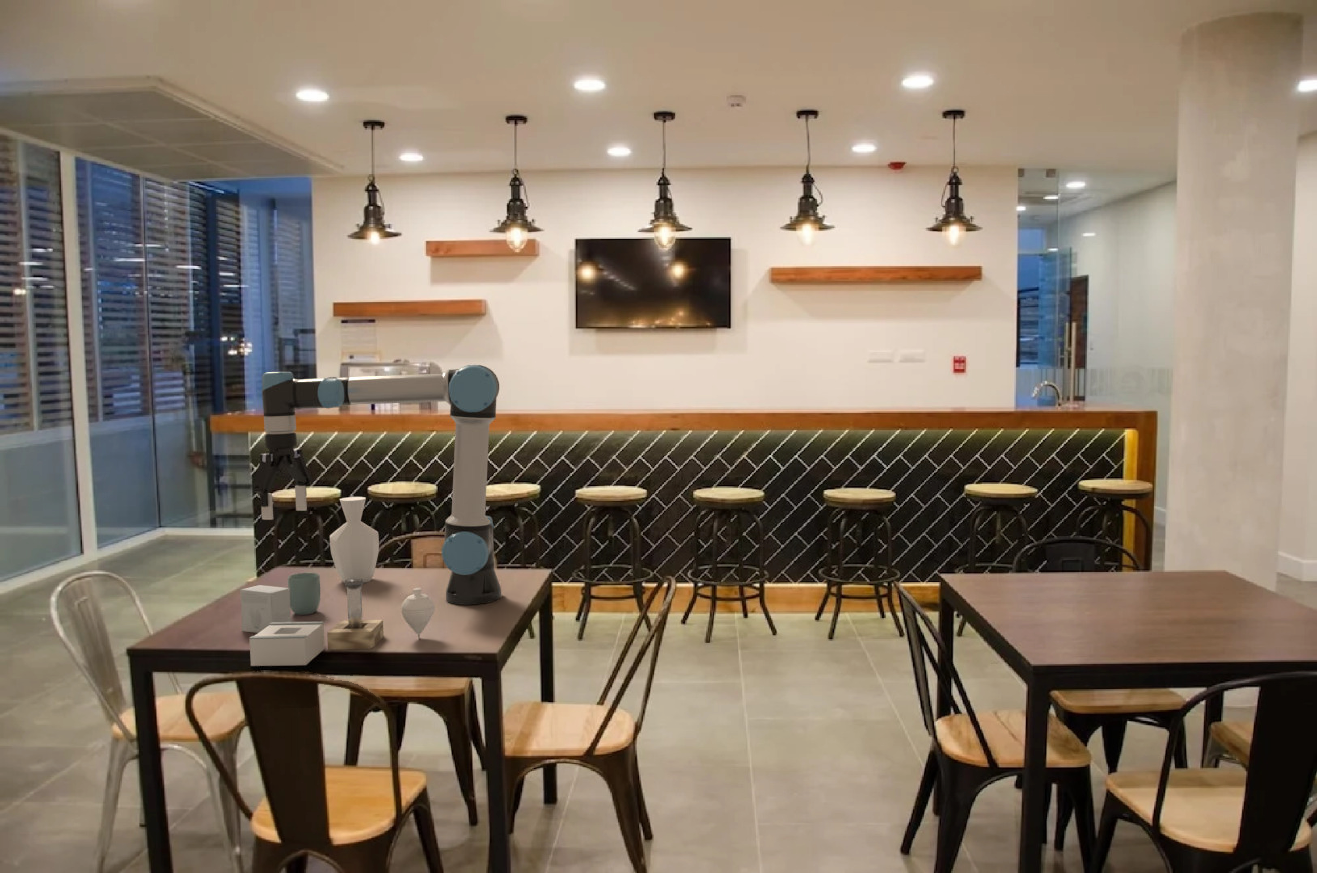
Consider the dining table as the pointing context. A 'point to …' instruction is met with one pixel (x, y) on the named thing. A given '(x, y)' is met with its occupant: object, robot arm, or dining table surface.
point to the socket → (287, 643)
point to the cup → (304, 592)
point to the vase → (354, 543)
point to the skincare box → (264, 607)
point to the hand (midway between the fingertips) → (285, 514)
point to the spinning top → (417, 610)
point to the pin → (354, 603)
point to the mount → (355, 635)
